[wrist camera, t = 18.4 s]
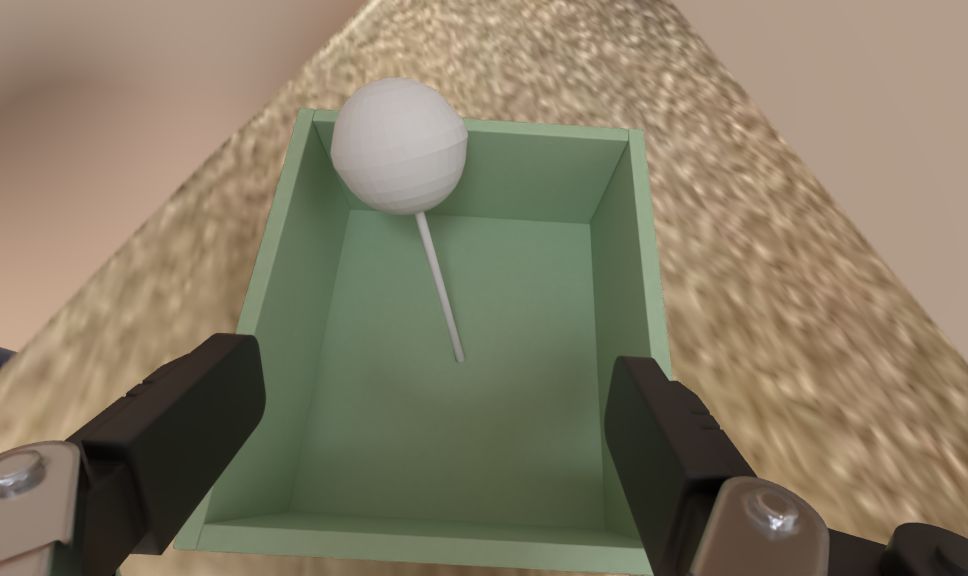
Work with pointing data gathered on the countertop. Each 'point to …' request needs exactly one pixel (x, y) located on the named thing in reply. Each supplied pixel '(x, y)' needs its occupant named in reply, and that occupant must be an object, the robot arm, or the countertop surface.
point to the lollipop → (402, 157)
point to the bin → (447, 360)
